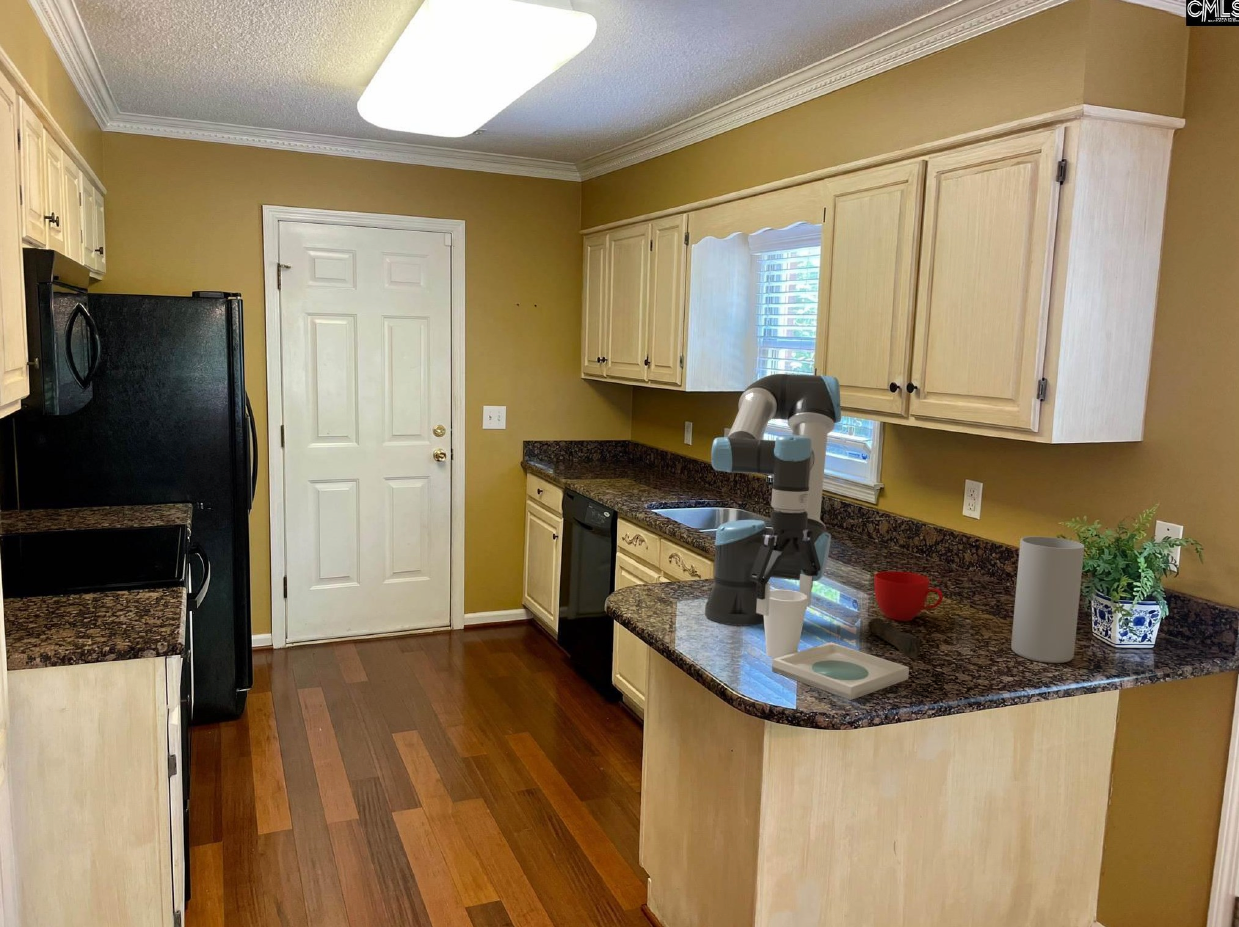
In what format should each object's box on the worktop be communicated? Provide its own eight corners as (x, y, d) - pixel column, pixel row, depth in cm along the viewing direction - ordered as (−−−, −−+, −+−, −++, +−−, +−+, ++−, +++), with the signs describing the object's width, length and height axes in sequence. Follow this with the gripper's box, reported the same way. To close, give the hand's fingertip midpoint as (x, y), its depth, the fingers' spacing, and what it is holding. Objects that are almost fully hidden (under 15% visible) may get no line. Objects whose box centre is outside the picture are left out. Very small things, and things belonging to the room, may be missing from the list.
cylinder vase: (1012, 659, 201) (1022, 544, 198) (1009, 642, 212) (1019, 534, 209) (1076, 667, 197) (1087, 551, 193) (1070, 650, 208) (1080, 540, 205)
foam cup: (811, 660, 195) (815, 600, 194) (771, 663, 193) (774, 602, 191) (790, 646, 204) (794, 588, 203) (752, 649, 202) (755, 590, 200)
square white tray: (771, 671, 188) (772, 659, 188) (830, 653, 200) (830, 642, 200) (850, 700, 174) (851, 687, 174) (908, 679, 186) (908, 667, 186)
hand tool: (867, 634, 216) (868, 614, 215) (883, 633, 216) (884, 614, 216) (905, 662, 197) (906, 641, 197) (923, 661, 198) (924, 640, 197)
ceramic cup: (928, 632, 218) (931, 590, 217) (862, 616, 230) (865, 576, 228) (951, 621, 228) (954, 581, 227) (887, 606, 239) (889, 568, 238)
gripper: (763, 517, 184) (757, 622, 186) (841, 507, 200) (834, 604, 202) (735, 511, 189) (730, 613, 192) (812, 502, 205) (807, 597, 208)
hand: (783, 609), depth 197 cm, fingers open, 13 cm apart
